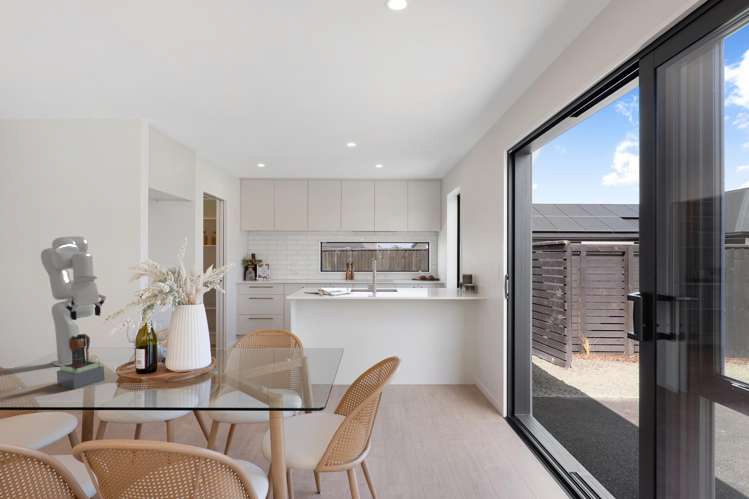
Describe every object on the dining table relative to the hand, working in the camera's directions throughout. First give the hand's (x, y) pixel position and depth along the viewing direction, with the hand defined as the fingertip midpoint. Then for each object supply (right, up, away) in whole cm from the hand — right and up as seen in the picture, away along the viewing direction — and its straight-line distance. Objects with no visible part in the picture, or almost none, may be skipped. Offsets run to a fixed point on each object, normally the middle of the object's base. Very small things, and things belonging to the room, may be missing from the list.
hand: (86, 317), depth 191 cm
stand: (+3, -27, -8) cm, 28 cm away
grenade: (+3, -21, -8) cm, 23 cm away
